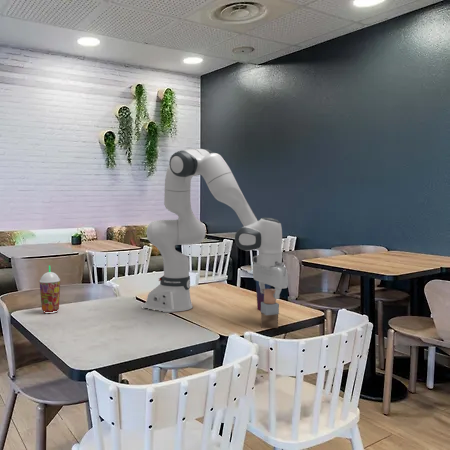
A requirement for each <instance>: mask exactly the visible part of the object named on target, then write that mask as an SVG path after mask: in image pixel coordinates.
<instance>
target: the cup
mask: <svg viewBox="0 0 450 450" xmlns="http://www.w3.org/2000/svg"><path fill="white" fill-rule="evenodd" d="M264 285H265V289H272V288H271V287H272V286H271V285H268V284H264ZM255 286H256V289H255V290H256V305H257V311H260V312H261V302H264V294H262V293H261V289H260V286H259V281H256V280H255Z"/></svg>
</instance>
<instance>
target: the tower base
mask: <svg viewBox="0 0 450 450" xmlns="http://www.w3.org/2000/svg"><path fill="white" fill-rule="evenodd" d="M260 313H261V314H260V315H261V316H260V328H263V329H266V328H267V329H279V314H276V315H265V314H263V313H262V312H261V311H260Z"/></svg>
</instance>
